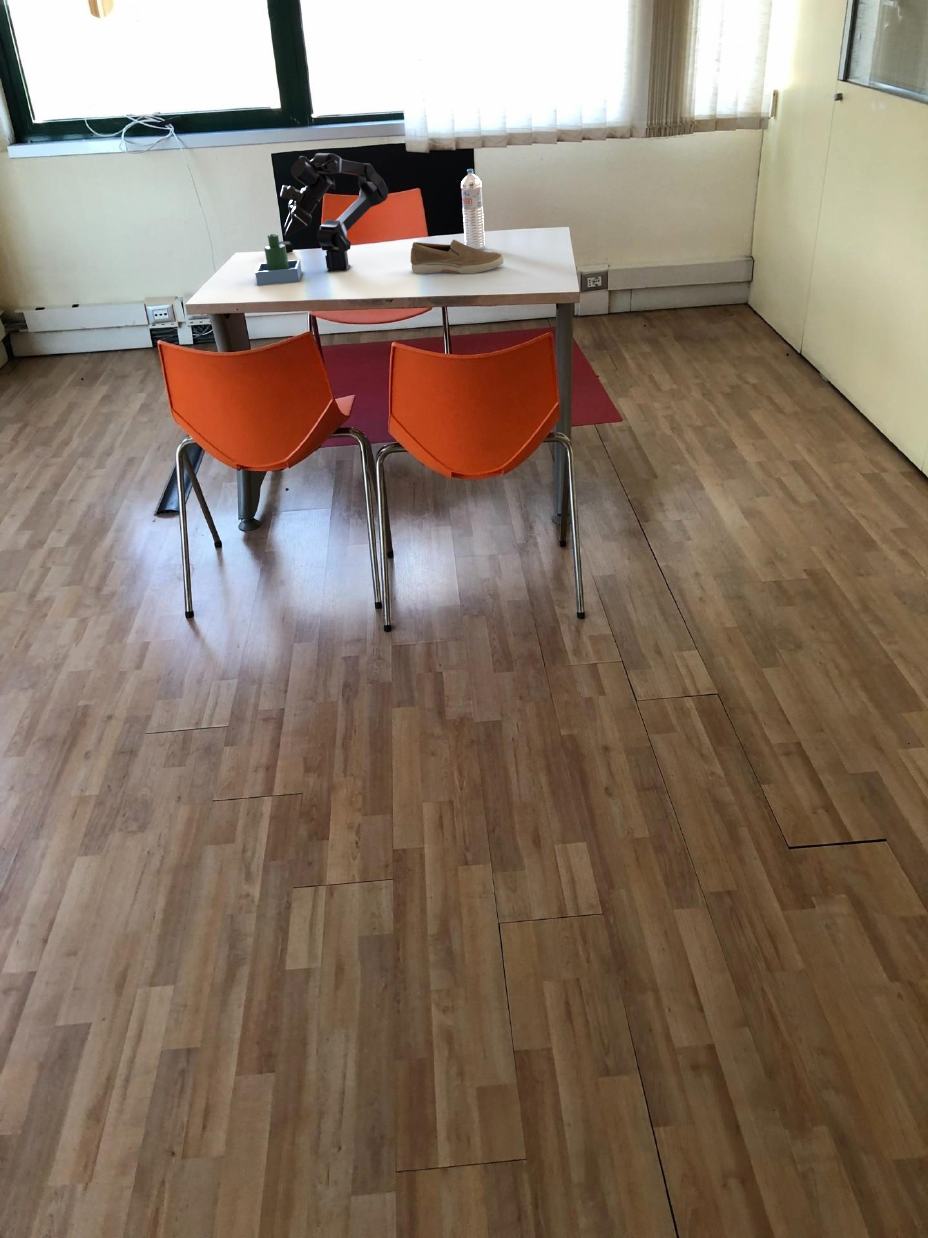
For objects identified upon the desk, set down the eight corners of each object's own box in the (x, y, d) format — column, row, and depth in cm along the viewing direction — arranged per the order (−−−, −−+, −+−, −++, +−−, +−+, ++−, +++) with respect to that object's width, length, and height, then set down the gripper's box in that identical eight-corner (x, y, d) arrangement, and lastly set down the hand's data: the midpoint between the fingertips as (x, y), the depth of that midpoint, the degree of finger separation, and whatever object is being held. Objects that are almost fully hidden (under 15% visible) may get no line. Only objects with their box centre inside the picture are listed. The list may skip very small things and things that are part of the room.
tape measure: (274, 256, 341) (273, 245, 339) (272, 252, 347) (270, 242, 344) (294, 254, 342) (292, 243, 340) (291, 250, 348) (289, 239, 346)
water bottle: (462, 248, 330) (456, 169, 316) (479, 245, 332) (475, 166, 319) (470, 252, 325) (465, 171, 311) (488, 248, 327) (484, 168, 313)
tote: (301, 272, 318) (299, 259, 316) (299, 281, 308) (296, 268, 306) (261, 275, 318) (259, 263, 316) (257, 285, 308) (255, 272, 306)
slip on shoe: (505, 263, 307) (504, 234, 303) (500, 272, 298) (498, 242, 293) (417, 266, 314) (414, 237, 309) (408, 275, 304) (405, 245, 300)
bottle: (287, 273, 316) (280, 231, 309) (292, 277, 311) (285, 234, 304) (267, 276, 315) (260, 234, 307) (272, 280, 309) (264, 238, 302)
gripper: (290, 170, 306) (262, 211, 310) (294, 178, 291) (265, 221, 295) (319, 194, 311) (291, 233, 316) (324, 203, 296) (294, 245, 300)
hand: (285, 233), depth 307 cm, fingers open, 9 cm apart
